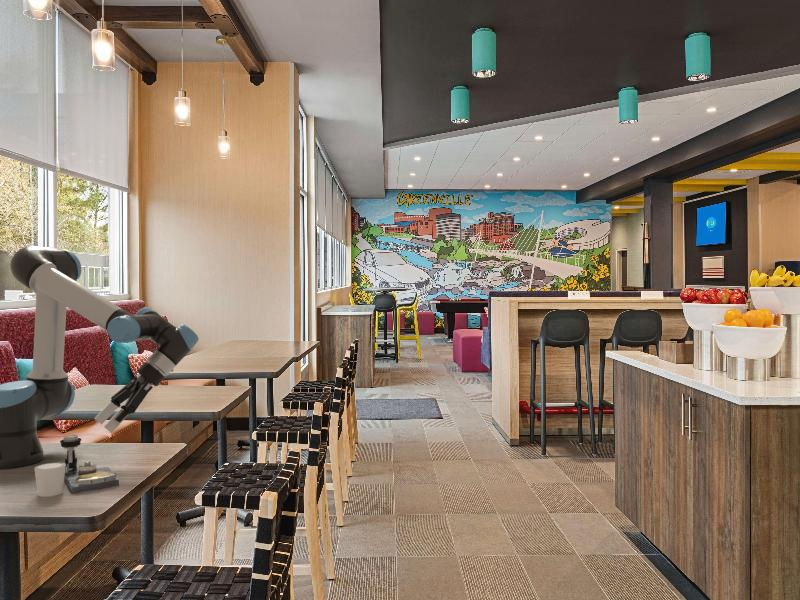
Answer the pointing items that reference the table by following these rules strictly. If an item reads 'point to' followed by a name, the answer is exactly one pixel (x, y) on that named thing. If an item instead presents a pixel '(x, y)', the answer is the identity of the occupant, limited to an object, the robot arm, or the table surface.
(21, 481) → the table surface
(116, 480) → the carrier plate
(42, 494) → the white tapered cup
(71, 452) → the push button
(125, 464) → the table surface
